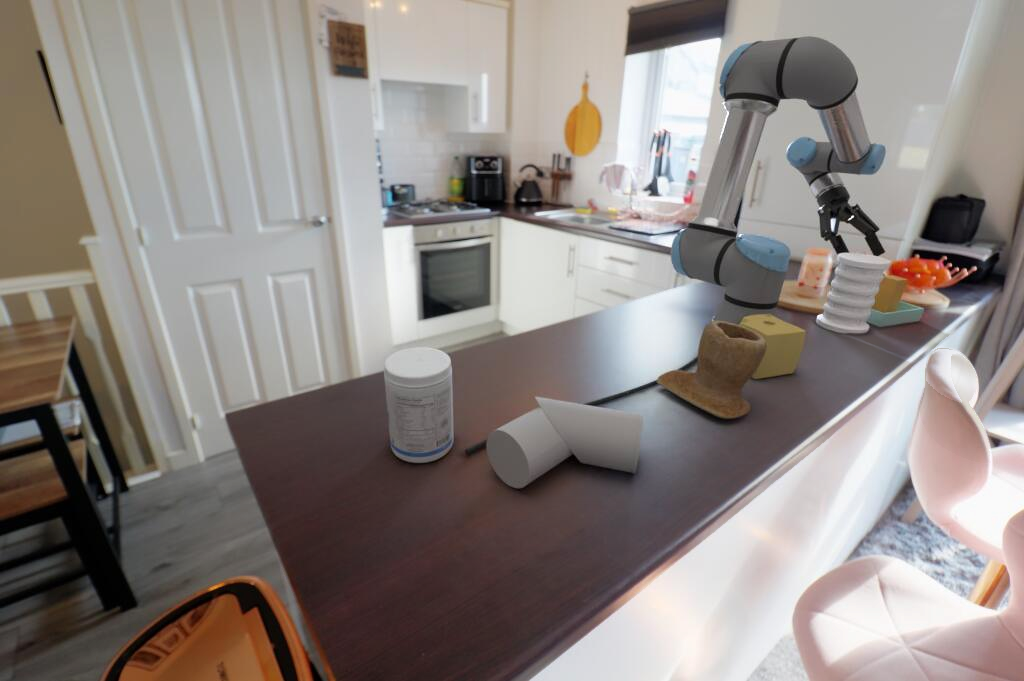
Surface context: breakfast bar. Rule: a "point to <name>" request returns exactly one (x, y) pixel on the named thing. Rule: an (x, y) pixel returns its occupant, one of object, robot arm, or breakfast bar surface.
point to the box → (896, 315)
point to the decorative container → (852, 292)
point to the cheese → (776, 344)
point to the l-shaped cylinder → (564, 440)
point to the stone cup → (719, 370)
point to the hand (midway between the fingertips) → (863, 256)
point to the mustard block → (889, 294)
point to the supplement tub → (419, 403)
